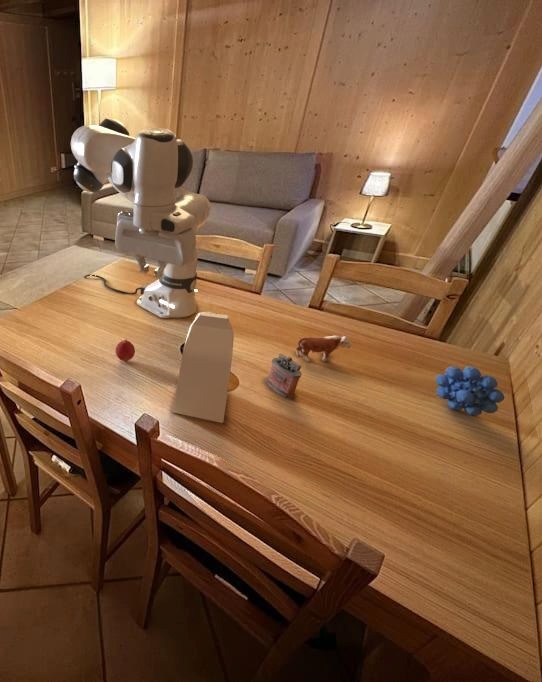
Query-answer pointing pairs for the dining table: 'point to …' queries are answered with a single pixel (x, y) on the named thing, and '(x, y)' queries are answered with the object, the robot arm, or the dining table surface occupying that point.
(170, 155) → the robot arm
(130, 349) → the onion
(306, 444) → the dining table surface
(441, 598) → the dining table surface
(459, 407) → the grapes
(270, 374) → the red grey filled tin
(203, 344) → the milk
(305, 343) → the bull figurine
